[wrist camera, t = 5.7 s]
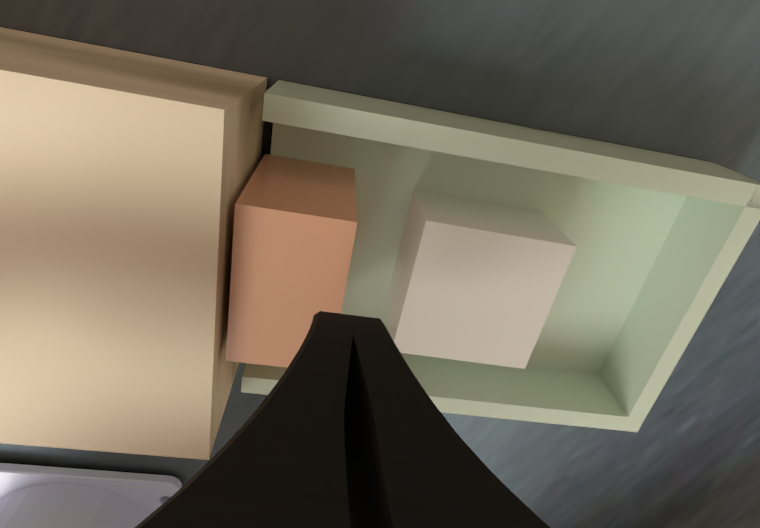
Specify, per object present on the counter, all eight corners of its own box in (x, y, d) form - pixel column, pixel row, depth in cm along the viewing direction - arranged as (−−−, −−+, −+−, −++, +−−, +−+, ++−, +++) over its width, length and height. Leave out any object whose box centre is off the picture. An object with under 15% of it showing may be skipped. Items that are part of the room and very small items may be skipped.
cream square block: (391, 351, 13) (384, 304, 16) (524, 368, 14) (500, 321, 16) (425, 220, 12) (413, 188, 14) (577, 246, 12) (541, 211, 15)
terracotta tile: (254, 279, 15) (334, 290, 15) (226, 360, 11) (330, 372, 12) (264, 153, 13) (355, 169, 14) (234, 203, 10) (357, 222, 10)
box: (602, 381, 18) (637, 431, 16) (255, 342, 17) (240, 392, 14) (712, 162, 15) (778, 188, 12) (278, 79, 13) (264, 92, 11)
